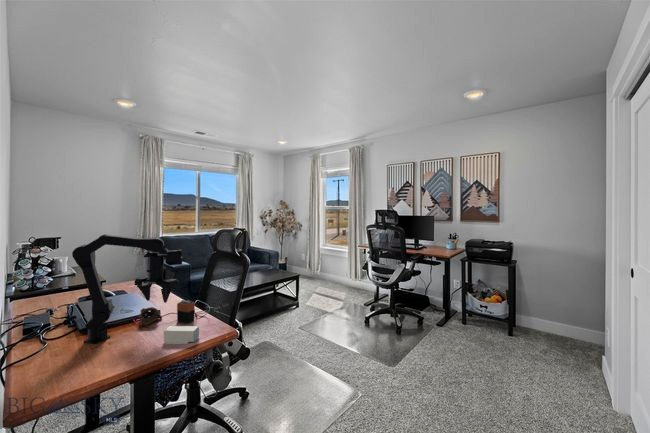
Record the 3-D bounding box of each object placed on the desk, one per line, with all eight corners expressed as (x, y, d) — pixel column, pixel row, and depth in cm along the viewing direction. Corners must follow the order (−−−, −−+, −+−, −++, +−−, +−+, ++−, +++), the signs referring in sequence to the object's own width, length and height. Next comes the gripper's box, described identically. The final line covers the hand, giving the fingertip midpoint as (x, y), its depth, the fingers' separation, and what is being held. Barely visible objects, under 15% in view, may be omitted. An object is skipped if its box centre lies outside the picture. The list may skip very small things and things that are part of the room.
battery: (187, 324, 137) (187, 303, 136) (176, 322, 139) (176, 301, 138) (194, 320, 141) (194, 300, 140) (184, 318, 143) (184, 298, 143)
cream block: (163, 330, 118) (194, 330, 118) (169, 326, 123) (198, 326, 123) (163, 341, 118) (194, 341, 119) (169, 336, 123) (198, 336, 123)
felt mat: (164, 344, 117) (164, 343, 117) (172, 336, 124) (172, 335, 124) (186, 344, 117) (186, 343, 117) (194, 336, 124) (194, 335, 124)
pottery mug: (168, 321, 141) (163, 309, 137) (150, 336, 134) (145, 324, 129) (151, 311, 145) (146, 299, 141) (133, 325, 138) (127, 313, 134)
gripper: (187, 264, 134) (187, 298, 134) (154, 261, 138) (154, 294, 139) (168, 269, 123) (168, 306, 124) (133, 266, 128) (133, 301, 128)
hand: (156, 301), depth 129 cm, fingers open, 9 cm apart
